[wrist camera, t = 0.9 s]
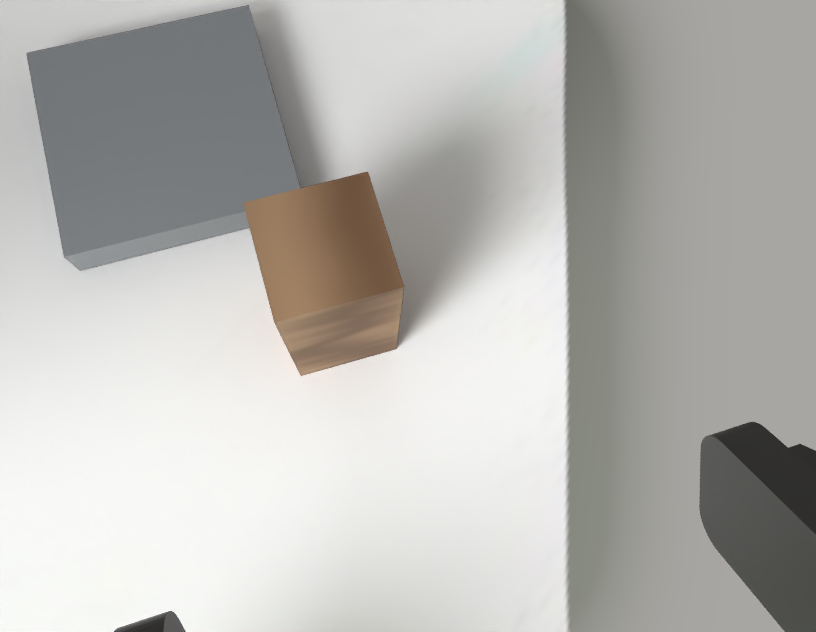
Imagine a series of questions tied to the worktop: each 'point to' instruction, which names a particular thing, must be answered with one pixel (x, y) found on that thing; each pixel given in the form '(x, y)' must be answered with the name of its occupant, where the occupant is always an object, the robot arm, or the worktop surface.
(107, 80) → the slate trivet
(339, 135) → the worktop surface
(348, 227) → the walnut block
